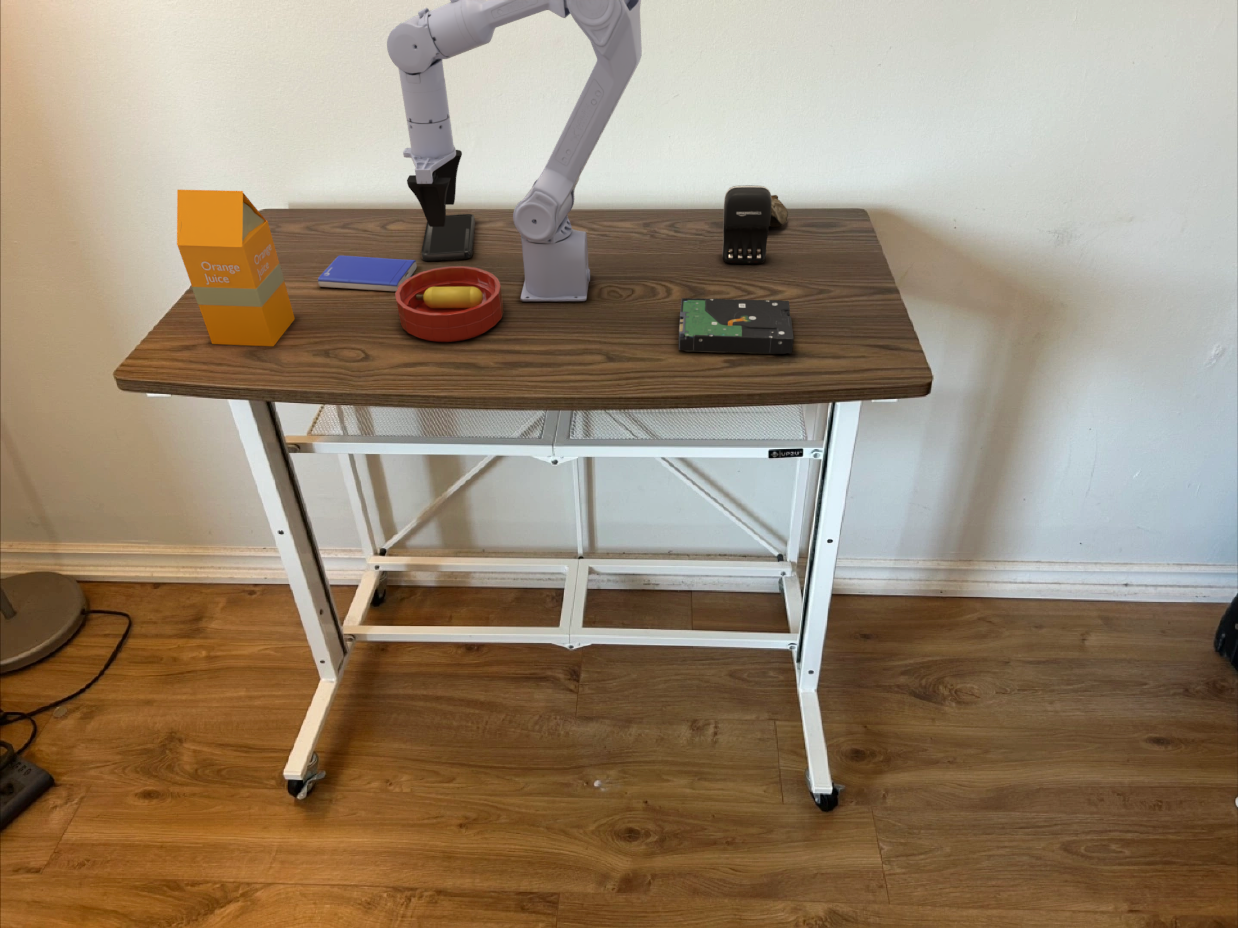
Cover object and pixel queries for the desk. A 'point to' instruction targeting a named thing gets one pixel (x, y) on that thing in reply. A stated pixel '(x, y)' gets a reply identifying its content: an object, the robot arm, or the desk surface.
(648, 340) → the desk surface
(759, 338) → the disk drive
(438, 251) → the phone
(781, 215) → the fossilized seashell
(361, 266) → the blue book
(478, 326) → the bowl
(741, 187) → the battery charger
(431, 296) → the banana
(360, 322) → the desk surface
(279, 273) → the orange juice
